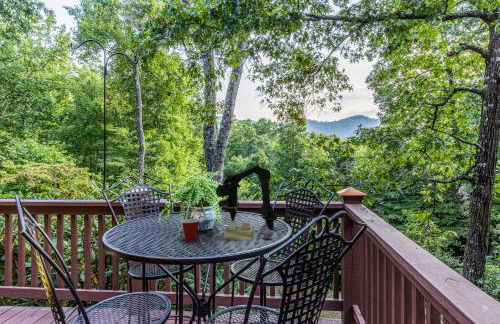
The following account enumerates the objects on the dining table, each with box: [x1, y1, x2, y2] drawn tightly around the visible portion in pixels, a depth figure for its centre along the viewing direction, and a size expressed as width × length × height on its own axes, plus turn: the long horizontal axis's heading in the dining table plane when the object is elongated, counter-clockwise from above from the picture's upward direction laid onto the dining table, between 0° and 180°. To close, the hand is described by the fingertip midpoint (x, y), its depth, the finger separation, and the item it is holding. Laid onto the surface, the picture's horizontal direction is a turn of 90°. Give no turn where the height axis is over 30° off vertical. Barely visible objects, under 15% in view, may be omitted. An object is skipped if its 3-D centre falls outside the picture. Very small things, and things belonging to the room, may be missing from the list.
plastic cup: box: [180, 218, 201, 243], centre depth 180 cm, size 11×11×12 cm
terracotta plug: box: [241, 221, 251, 230], centre depth 186 cm, size 4×4×5 cm
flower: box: [257, 224, 273, 240], centre depth 183 cm, size 9×9×10 cm
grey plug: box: [228, 220, 237, 230], centre depth 187 cm, size 4×4×5 cm
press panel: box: [223, 225, 255, 241], centre depth 187 cm, size 12×16×5 cm
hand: (232, 221), depth 187 cm, fingers closed
